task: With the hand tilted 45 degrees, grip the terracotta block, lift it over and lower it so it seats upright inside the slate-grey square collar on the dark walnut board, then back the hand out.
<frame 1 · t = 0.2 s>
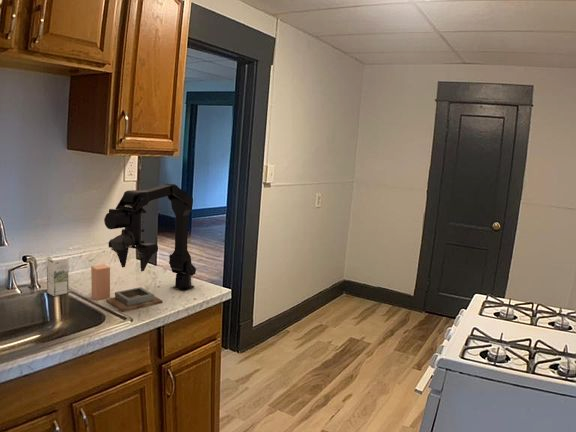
hand: (132, 269, 167), 14 cm above the worktop, tool pointing down, fingers open, 9 cm apart
syrup box: (58, 293, 179), on the worktop
terracotta block: (100, 297, 177), on the worktop
collar board: (134, 302, 174), on the worktop
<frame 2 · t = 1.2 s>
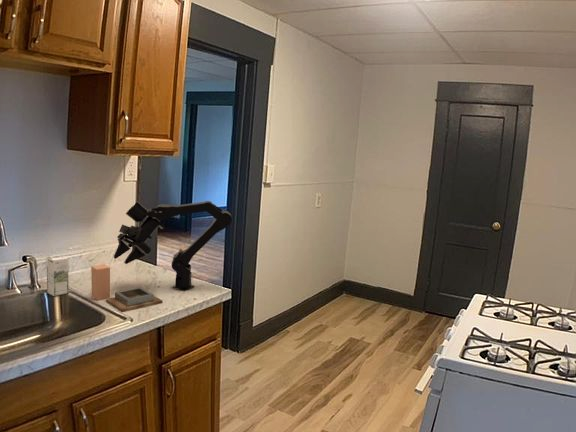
hand: (119, 260, 180), 13 cm above the worktop, tool tilted 45°, fingers open, 9 cm apart
nothing on the worktop moved.
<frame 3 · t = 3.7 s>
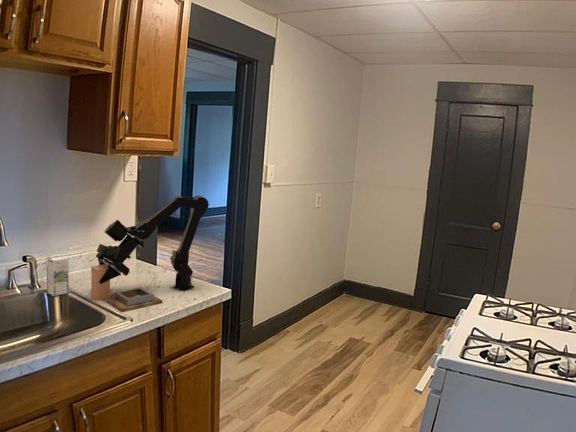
hand: (97, 281, 175), 7 cm above the worktop, tool tilted 45°, fingers closed on terracotta block, 5 cm apart
terracotta block: (100, 297, 177), on the worktop, touching gripper
everything else where it was.
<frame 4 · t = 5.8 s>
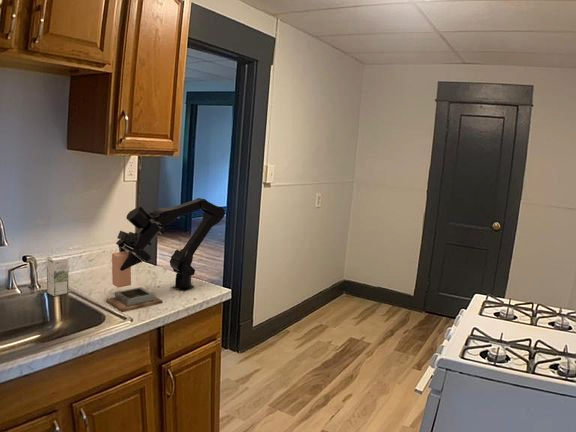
hand: (117, 268, 173), 13 cm above the worktop, tool tilted 45°, fingers closed on terracotta block, 5 cm apart
terracotta block: (121, 284, 175), point 6 cm above the worktop, touching gripper
everything else where it was.
when the fingers open (8 cm above the worktop, at t = 7.7 s): terracotta block stays where it is, resting on collar board.
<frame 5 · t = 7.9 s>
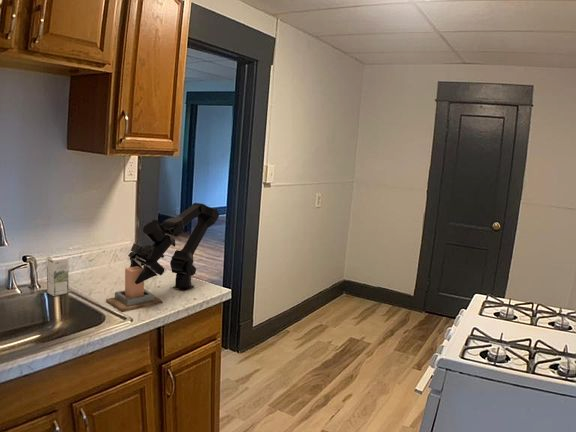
hand: (131, 281, 172), 9 cm above the worktop, tool tilted 45°, fingers open, 7 cm apart
terracotta block: (134, 299, 174), point 1 cm above the worktop, touching collar board
everything else where it was.
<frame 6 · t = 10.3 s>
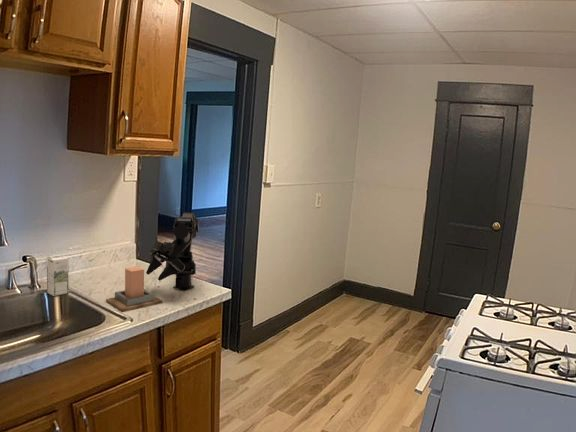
hand: (152, 276, 178), 9 cm above the worktop, tool tilted 45°, fingers open, 9 cm apart
nothing on the worktop moved.
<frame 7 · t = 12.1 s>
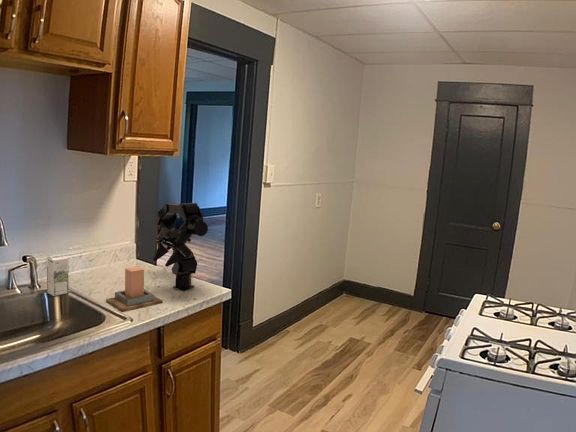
hand: (159, 263, 179), 14 cm above the worktop, tool tilted 45°, fingers open, 9 cm apart
nothing on the worktop moved.
at the end: terracotta block 0.0 cm off-centre on the collar board, point 1.0 cm above the collar board's base; terracotta block tilted 0°; the gripper is holding nothing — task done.
